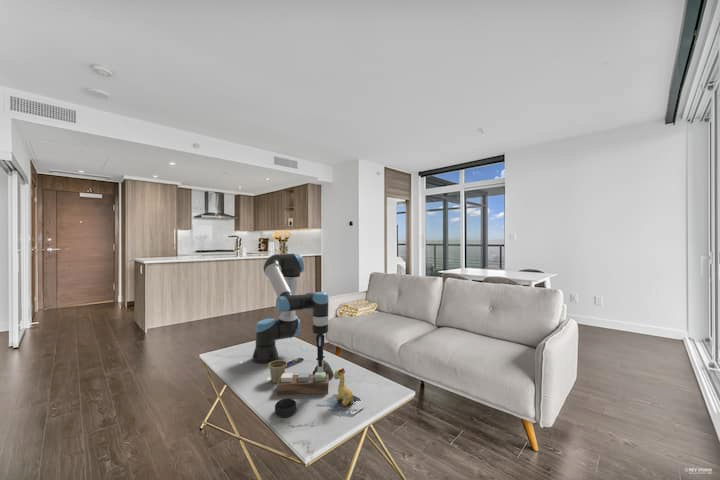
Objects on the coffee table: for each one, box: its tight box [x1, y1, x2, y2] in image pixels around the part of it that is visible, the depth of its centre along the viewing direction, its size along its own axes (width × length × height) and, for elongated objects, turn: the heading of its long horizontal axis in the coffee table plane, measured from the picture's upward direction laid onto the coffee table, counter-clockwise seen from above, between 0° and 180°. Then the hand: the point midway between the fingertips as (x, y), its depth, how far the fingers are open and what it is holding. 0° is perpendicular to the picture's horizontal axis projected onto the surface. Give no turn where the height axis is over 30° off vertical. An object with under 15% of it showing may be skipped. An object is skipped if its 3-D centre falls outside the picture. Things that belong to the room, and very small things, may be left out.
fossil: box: [312, 359, 334, 380], centre depth 165 cm, size 11×9×10 cm
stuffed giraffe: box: [317, 368, 361, 418], centre depth 137 cm, size 16×18×16 cm
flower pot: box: [267, 359, 288, 384], centre depth 160 cm, size 9×9×9 cm
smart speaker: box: [274, 398, 297, 418], centre depth 131 cm, size 9×9×4 cm
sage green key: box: [315, 372, 326, 381], centre depth 151 cm, size 5×5×2 cm
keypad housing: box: [276, 373, 330, 396], centre depth 151 cm, size 10×24×5 cm, turn 94°
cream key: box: [281, 372, 294, 382], centre depth 150 cm, size 5×5×2 cm
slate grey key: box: [298, 372, 310, 382], centre depth 151 cm, size 5×5×2 cm
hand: (320, 372), depth 151 cm, fingers closed
